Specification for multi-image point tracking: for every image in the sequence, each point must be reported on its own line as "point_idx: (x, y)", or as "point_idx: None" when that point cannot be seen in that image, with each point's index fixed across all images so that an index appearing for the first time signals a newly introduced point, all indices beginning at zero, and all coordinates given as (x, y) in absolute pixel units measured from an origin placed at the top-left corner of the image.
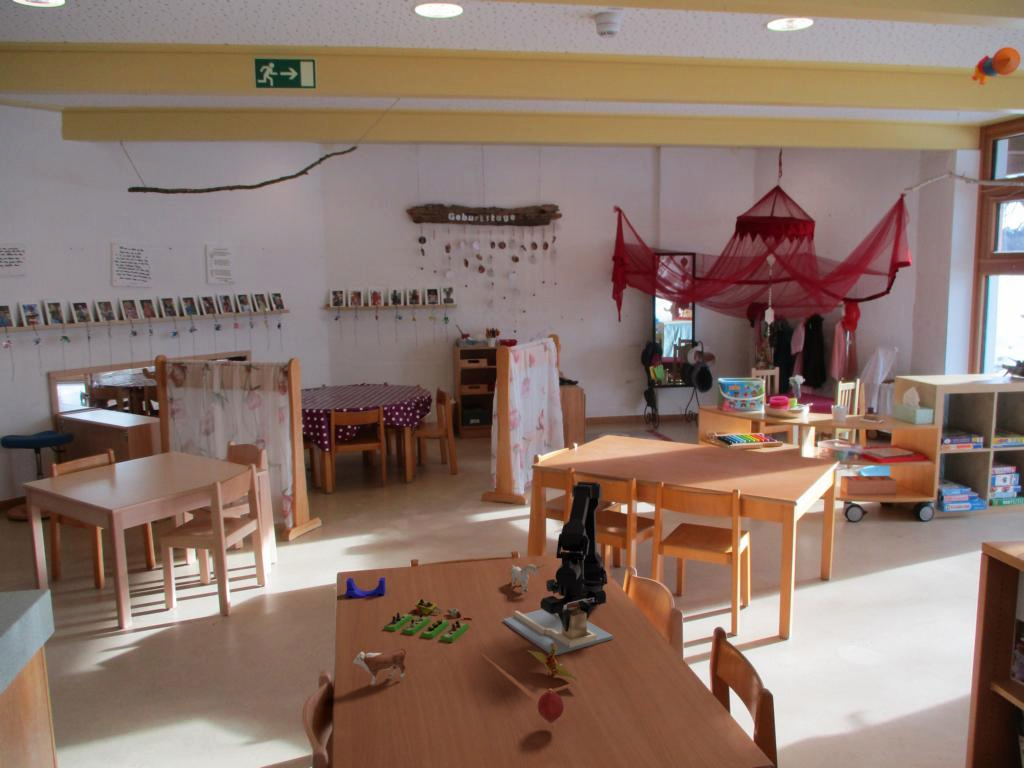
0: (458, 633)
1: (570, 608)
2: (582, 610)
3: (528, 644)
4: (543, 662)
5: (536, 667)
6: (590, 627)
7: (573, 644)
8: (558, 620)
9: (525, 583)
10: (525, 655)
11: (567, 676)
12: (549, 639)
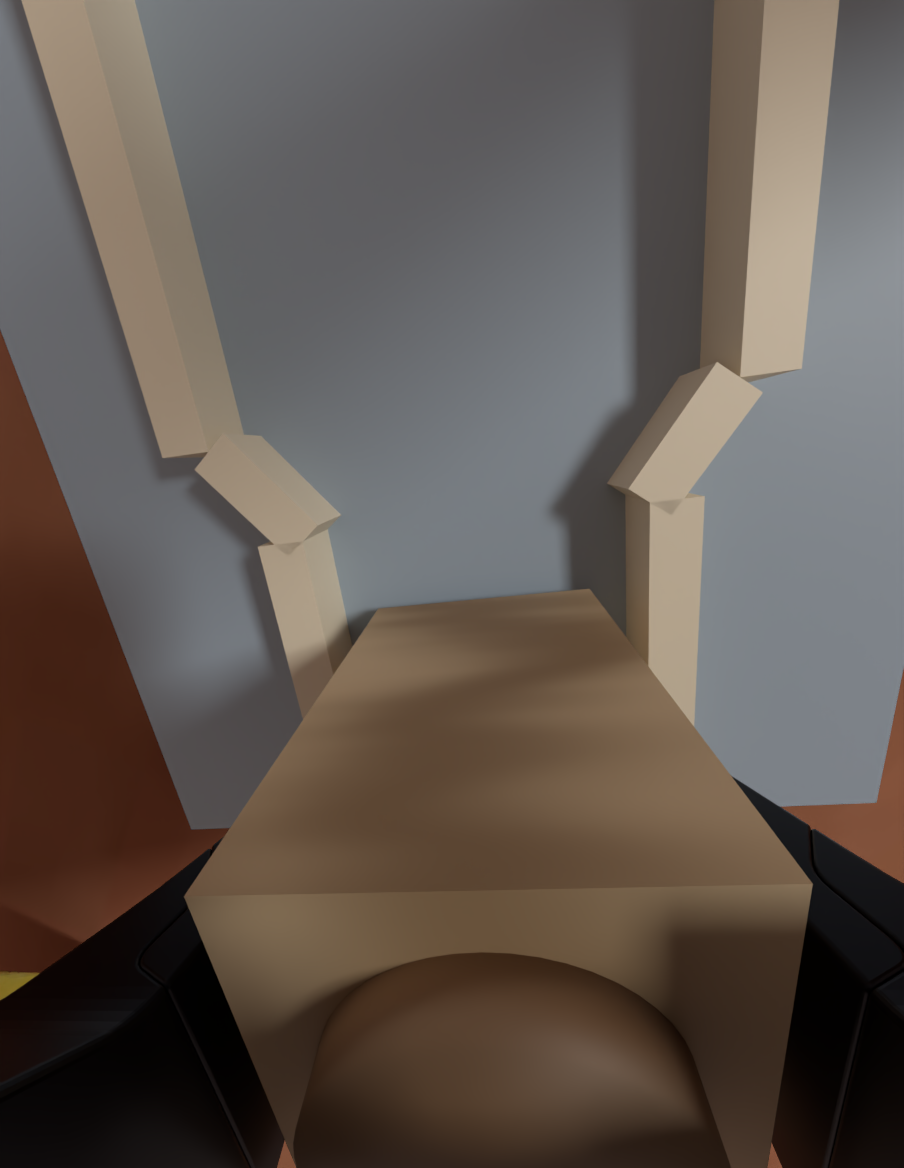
0: None
1: (460, 1082)
2: (813, 1056)
3: (55, 526)
4: None
5: (59, 880)
6: (838, 518)
7: None
8: (602, 15)
9: None
10: (3, 706)
11: None
12: (237, 599)
